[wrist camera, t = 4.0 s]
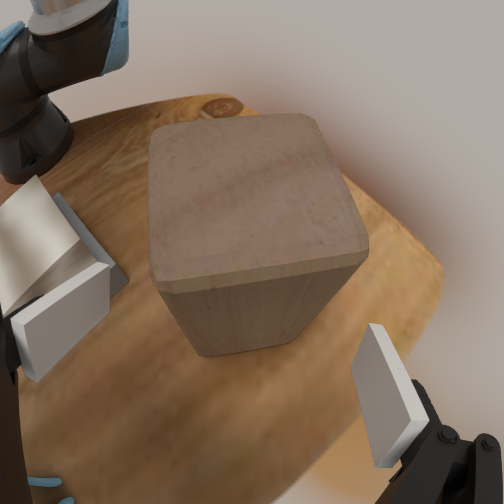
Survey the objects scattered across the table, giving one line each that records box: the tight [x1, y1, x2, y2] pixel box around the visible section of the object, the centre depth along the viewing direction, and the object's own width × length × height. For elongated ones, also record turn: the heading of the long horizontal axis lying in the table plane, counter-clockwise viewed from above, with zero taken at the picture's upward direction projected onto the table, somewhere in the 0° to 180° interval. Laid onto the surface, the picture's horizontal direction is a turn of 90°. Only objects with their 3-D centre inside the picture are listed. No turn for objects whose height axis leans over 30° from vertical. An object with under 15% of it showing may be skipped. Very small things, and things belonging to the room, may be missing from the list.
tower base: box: [51, 191, 129, 299], centre depth 30 cm, size 14×14×5 cm
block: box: [147, 114, 369, 357], centre depth 23 cm, size 10×10×20 cm
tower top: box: [0, 175, 98, 318], centre depth 25 cm, size 12×12×5 cm
